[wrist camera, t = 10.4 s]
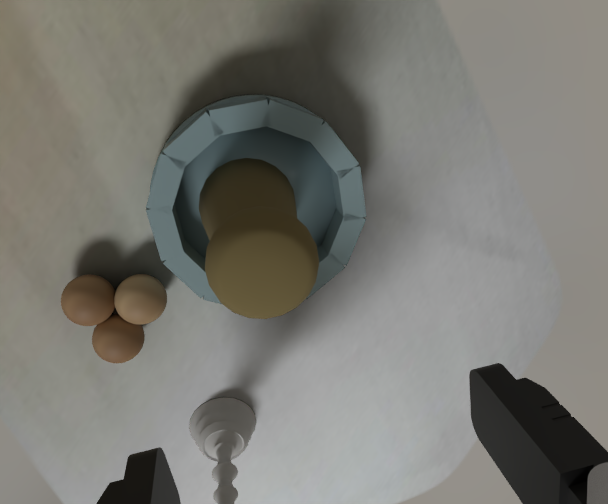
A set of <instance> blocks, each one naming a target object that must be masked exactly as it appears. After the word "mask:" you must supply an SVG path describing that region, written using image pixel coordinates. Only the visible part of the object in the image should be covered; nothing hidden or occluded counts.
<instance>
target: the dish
mask: <svg viewBox="0 0 608 504" xmlns="http://www.w3.org/2000/svg"><path fill="white" fill-rule="evenodd" d="M242 158H252V159H260V160H263V161H266V162H268V163H270V164H272V165H274V166H276V167H277V168H278V169H279V170H280V171H281V172H282V173H283V174H284V175H285V176H286V177H287V179H288V180H289V182H290V184H291V186H292V188H293V190H294V196H295V202H296V211H297V219H298V220H299V221H300V222H302V223H303V224H304V225H305V226H306V227H307V229H308V230H309V232H310V234H311V236H312V238H313V240H314V241H315V243H316V245H317V251H318V257H319V267H318V273H317V279H316V283H315V284H314V286H313V288H312V290H311V292H310V294H309V296H308V297H307V298H306V299H308V298H309V297H310V296H311V295H312V294H314V293H315V292H316V291H317V290H318V289H320V288H321V287H322V286H323V285H325V284H326V283H327V282H328V281H329V280H331V279H332V278H333V277H334V276H335V275H337V274H338V273H339V272H340V271H342V270H343V269H344V268H345V267H344V265H347V264H348V261H349V259H350V256H351V254H352V252H353V249H354V247H355V244H356V242H357V240H358V237H359V235H360V233H361V230H362V228H363V225H364V223H365V221H366V219H365V218H364V217H366V210H365V201H364V193H363V185H362V177H361V168H360V166H359V165H358V164H359V163H358V162H357V160H356V159H355V158H354V156H353V155H352V154H351V153H350V151H349V150H348V149H347V148H346V146H345V145H344V144H343V142H342V141H341V139H340V138H339V136H338V135H337V134H336V133H335V132H334V131H333V129H332V128H331V127H330V126H329V125H328V123H327V122H326V121H325V120H323V119H322V118H320V117H319V116H317V115H315V114H314V113H312V112H311V111H309V110H308V109H306V108H304V107H303V106H301V105H299V104H296V103H294V102H292V101H290V100H286V99H283V98H280V97H276V96H269V95H263V94H246V95H238V96H232V97H228V98H225V99H221V100H218V101H216V102H213V103H211V104H209V105H207V106H205V107H203V108H201V109H200V110H198V111H196V112H195V113H193V114H192V115H191V116H190V117H188V118H187V119H186V120H185V121H183V123H182V124H181V125H180V126H179V127H178V128H177V129H176V130H175V131H174V132H173V134H172V135H171V136H170V138H169V139H168V141H167V142H166V144H165V146H164V147H163V149H162V151H161V153H160V155H159V157H158V160H157V163H156V166H155V168H154V171H153V175H152V180H151V185H150V195H149V198H148V202H147V205H146V208H147V209H146V212H147V215H148V219H149V222H150V225H151V229H152V232H153V235H154V239H155V242H156V245H157V249H158V252H159V255H160V259H161V261H163V264H164V265H165V266H166V267H167V268H168V269H169V270H170V271H171V272H173V273H174V274H175V275H176V276H177V277H178V278H179V279H180V280H181V281H182V282H184V283H185V284H186V285H187V286H188V287H189V288H190V289H191V290H192V291H193V292H194V293H196V294H197V295H198V296H199V297H200V298H202V297H203V300H207V301H211V302H215V303H219V304H222V303H221V302H220V301H219V299H218V298H217V296H216V295H215V293H214V292H213V290H212V289H211V287H210V286H209V283H208V280H207V276H206V272H205V260H206V250H207V246H208V244H209V242H210V240H209V238H208V236H207V233H206V231H205V228H204V226H203V224H202V220H201V216H200V212H199V198H200V192H201V190H202V188H203V185H204V183H205V181H206V179H207V178H208V177H209V176H210V175H211V174H212V173H213V172H214V171H215V169H216V168H218V167H220V166H222V165H223V164H225V163H227V162H229V161H231V160H237V159H242Z"/></svg>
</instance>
